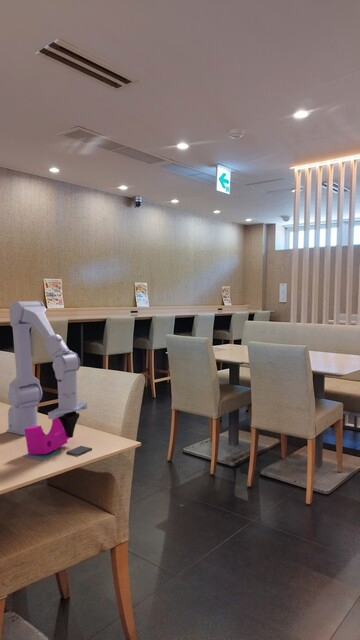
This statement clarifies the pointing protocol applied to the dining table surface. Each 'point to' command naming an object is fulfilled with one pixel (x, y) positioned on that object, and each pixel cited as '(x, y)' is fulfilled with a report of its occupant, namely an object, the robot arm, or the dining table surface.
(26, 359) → the robot arm
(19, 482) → the dining table surface
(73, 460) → the dining table surface
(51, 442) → the toy block
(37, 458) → the pad
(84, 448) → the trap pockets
